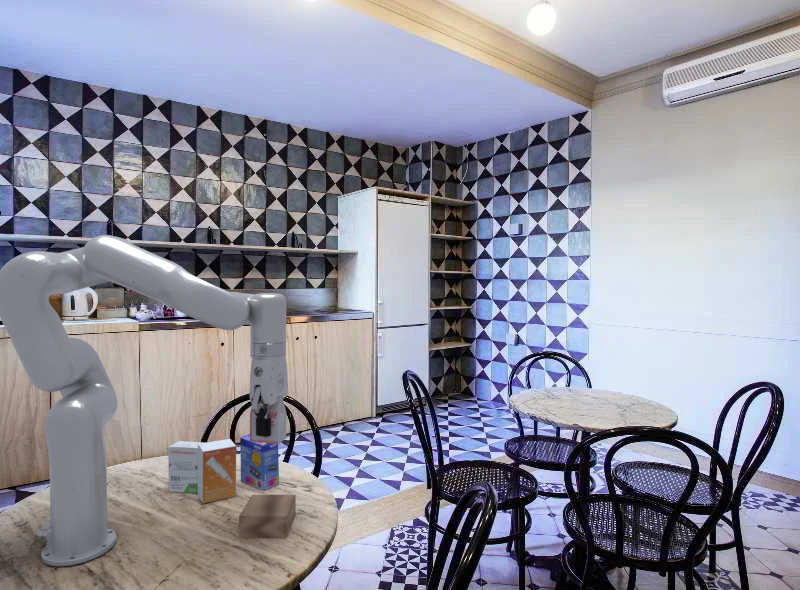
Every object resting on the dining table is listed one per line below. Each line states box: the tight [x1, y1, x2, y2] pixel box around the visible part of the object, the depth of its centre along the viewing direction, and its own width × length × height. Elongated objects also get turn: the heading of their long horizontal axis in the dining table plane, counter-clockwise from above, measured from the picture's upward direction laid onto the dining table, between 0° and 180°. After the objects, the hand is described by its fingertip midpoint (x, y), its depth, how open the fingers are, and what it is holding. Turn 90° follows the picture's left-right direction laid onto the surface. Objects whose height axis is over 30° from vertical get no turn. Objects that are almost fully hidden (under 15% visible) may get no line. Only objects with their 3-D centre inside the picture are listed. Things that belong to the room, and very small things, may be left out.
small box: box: [197, 438, 237, 504], centre depth 122 cm, size 8×6×13 cm
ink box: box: [167, 440, 204, 494], centre depth 126 cm, size 9×5×12 cm, turn 83°
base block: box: [238, 494, 297, 539], centre depth 108 cm, size 10×10×5 cm
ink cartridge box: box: [239, 433, 280, 491], centre depth 130 cm, size 10×6×14 cm, turn 54°
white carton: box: [249, 396, 287, 445], centre depth 107 cm, size 4×7×10 cm, turn 77°
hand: (268, 431), depth 107 cm, fingers closed on white carton, 3 cm apart
